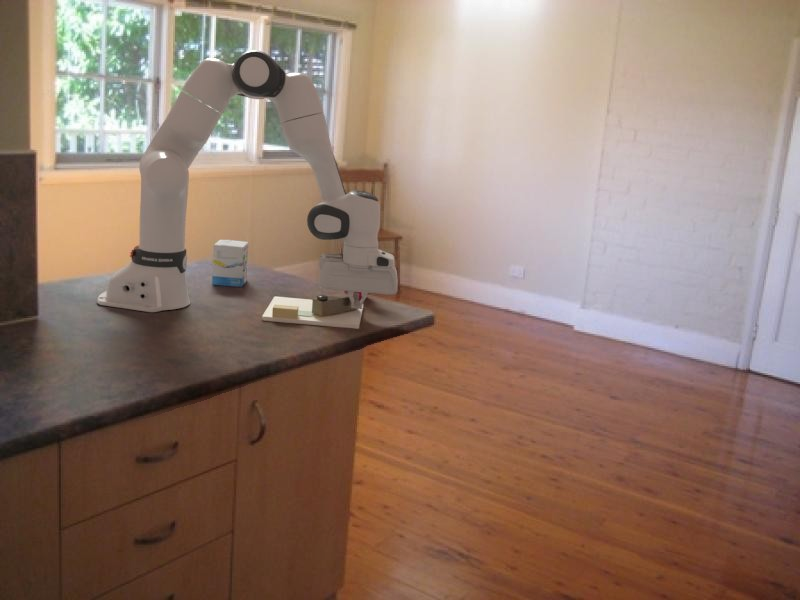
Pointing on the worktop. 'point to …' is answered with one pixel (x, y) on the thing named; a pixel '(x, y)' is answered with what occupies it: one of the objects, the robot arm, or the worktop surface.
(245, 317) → the worktop surface
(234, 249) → the ink box
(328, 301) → the bar
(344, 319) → the latch board
